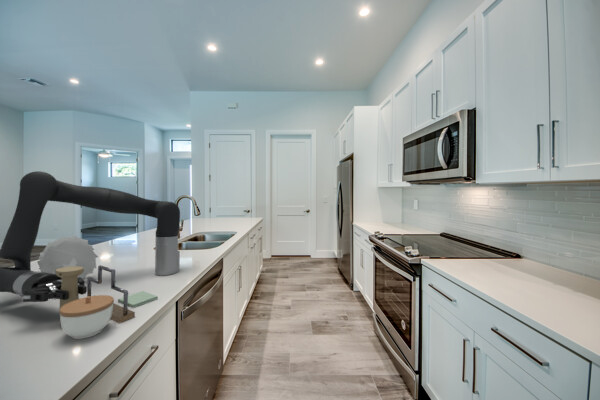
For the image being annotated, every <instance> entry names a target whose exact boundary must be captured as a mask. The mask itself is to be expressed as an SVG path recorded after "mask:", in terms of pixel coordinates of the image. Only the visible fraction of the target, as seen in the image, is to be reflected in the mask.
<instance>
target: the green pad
mask: <svg viewBox="0 0 600 400" xmlns="http://www.w3.org/2000/svg"><path fill="white" fill-rule="evenodd" d="M156 300H158V295H156V294H152V293H150V292H146V291H145V290H142V291H138V292H136V293H132V294H128V308H129V307H130V308H132V309H134V308H136V307H140V306H142V305H145V304H149V303H150V302H153V301H156ZM117 303H119V304H122V305H124V296H122V297H119V298H117Z"/></svg>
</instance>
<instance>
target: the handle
mask: <svg viewBox="0 0 600 400" xmlns="http://www.w3.org/2000/svg"><path fill="white" fill-rule="evenodd" d="M83 272H84V268H83V267H78V266H72V267H63V268H59V269H56V270H55V274H56V275H57V276H58V277H61V278H62V283H61V290H64V291H68V292H69V299H67V300H62V299H59V309H60V308H61V307H62V306H63V305H65V304H67V303H69V302H72V301H74V300H77V299H80V296H79V295H80V294H78V275H80V274H82V273H83Z"/></svg>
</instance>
